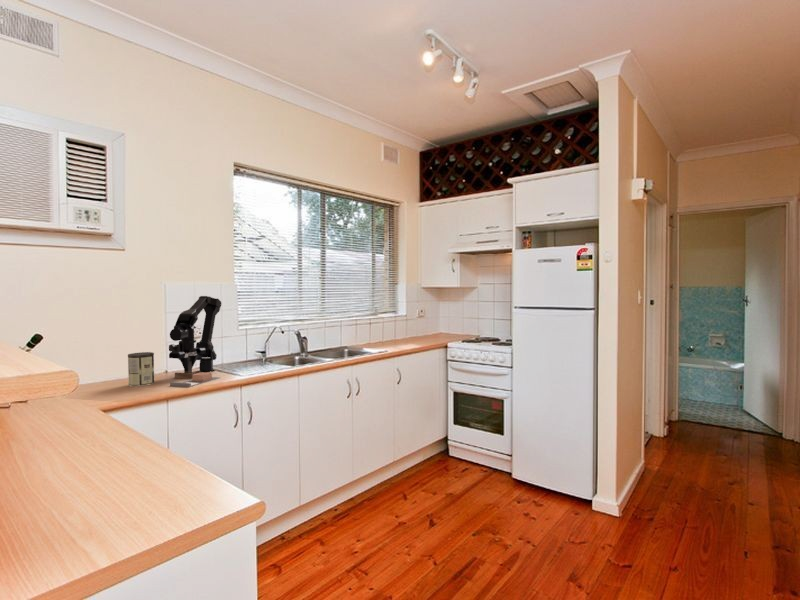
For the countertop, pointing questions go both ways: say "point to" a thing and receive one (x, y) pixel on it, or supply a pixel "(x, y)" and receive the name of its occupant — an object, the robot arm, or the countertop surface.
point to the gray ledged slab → (190, 383)
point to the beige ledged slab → (185, 372)
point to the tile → (202, 377)
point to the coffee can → (141, 369)
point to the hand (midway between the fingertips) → (188, 370)
